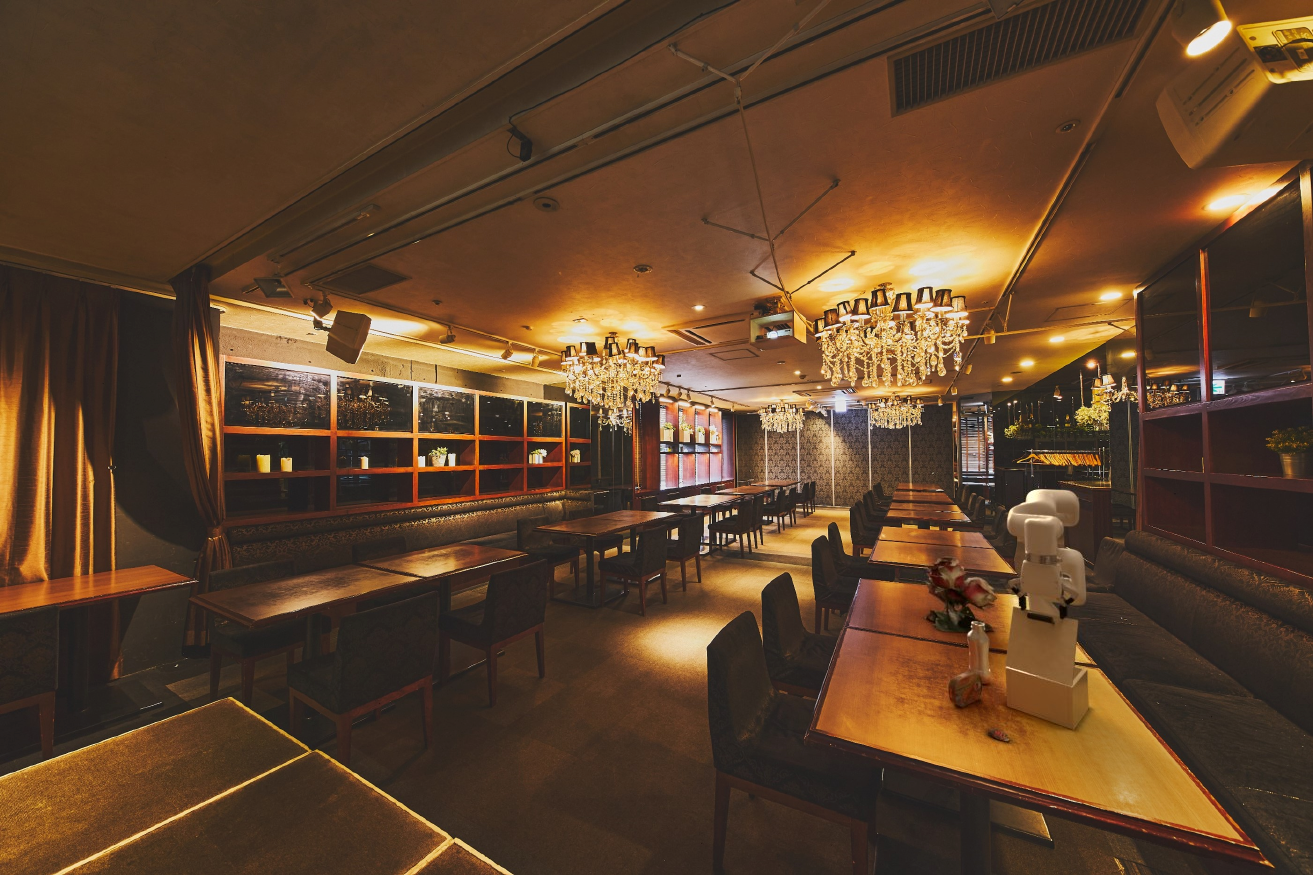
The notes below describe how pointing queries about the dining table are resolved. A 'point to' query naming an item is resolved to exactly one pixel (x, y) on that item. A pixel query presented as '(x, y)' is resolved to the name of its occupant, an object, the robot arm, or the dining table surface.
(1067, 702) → the bin
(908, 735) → the dining table surface
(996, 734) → the matchbox
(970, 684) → the tin
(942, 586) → the rose bouquet
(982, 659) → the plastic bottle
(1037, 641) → the bin lid
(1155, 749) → the dining table surface
